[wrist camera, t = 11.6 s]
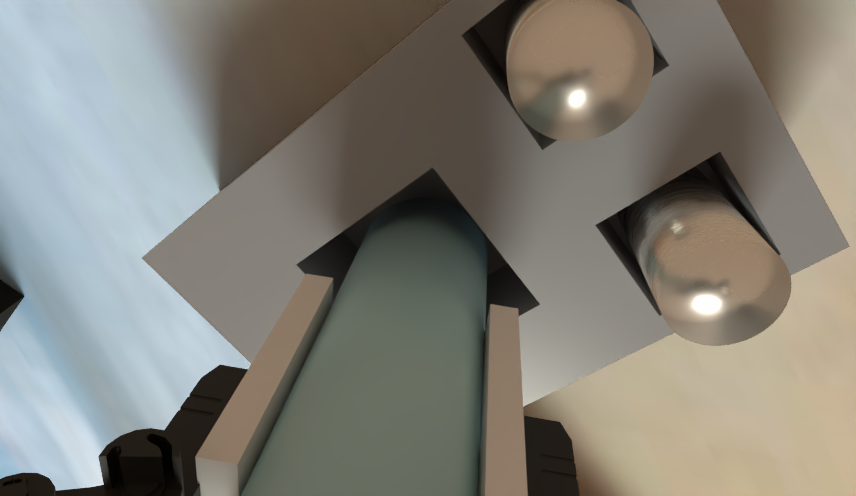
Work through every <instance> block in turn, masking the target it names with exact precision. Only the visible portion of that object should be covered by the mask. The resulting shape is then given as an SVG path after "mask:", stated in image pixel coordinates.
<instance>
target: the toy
mask: <svg viewBox="0 0 856 496" xmlns="http://www.w3.org/2000/svg"><path fill="white" fill-rule="evenodd" d="M23 297H24V296H23V295H21V294H20V293H19V292H17V291H16V290H14V289H13V288H11V287H10V286H9V285H7V284H6V283H4V282H3V281H1V280H0V331H1V329H2V328H3V326H4V325H5V323H6V322H7V321H8V319H9V318H10V316H11V315H12V313H13V312H14V310H15V309H16V308H17V306H18V305H19V303H20V302H21V300H22V299H23Z"/></svg>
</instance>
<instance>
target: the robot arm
mask: <svg viewBox="0 0 856 496" xmlns="http://www.w3.org/2000/svg"><path fill="white" fill-rule="evenodd" d="M332 293H333V278H330V277H324V276H318V275H312V274H306V275H305V277H304V278H303V280H302V282H301V283H300V285H299V287H298V288H297V290H296V292H295V293H294V295H293V296H292V298H291V300H290V301H289V303H288V305H287V306H286V308H285V310H284V311H283V313H282V315H281V316H280V318H279V320H278V321H277V323H276V324H275V326H274V328H273V329H272V331H271V333H270V334H269V336H268V338H267V339H266V341H265V343H264V344H263V346H262V348H261V349H260V351H259V353H258V354H257V356H256V357H255V359H254V361H253V362H252V364H251V366H250V367H249V369H248V370H247V369H242V368H236V367H230V366H224V365H219V366H218V367H216V368H215V369H213V370H212V371H210V372H209V373H208V374H206V375H205V376H203V377H202V378H201V379H200V381H199V382H198V383H197V385H196V386H195V388H194V389H193V391H192V392H191V393H190V397H188V398H187V399H186V400H185V402H184V403H183V405H182V406H181V409H180V411H178V412H177V413H176V415H175V416H174V417H173V419H172V420H171V422H170V423H169V425H168V426H167V427H166V429H165V430H158V429H152V428H150V429H141V430H135V431H132V432H130V433H127V434H124V435H122V436H120V437H118V438H117V439H115V440H114V441H112V442H111V443H110V444H108V445H107V446H106V447H105V449H104V450H103V451H102V453H101V454H100V455H99V461H100V466H101V472H102V477H103V482H104V485H101V486H96V487H90V488H80V489H70V490H60V491H56V490H55V486H54V485H53V483H52V482H51V480H50V479H49V478H48V477H45V476H43V475H41V474H38V473H20V474H15V475H11V476H7V477H4V478H2V479H0V496H241V494H242V492H243V490H244V488H245V486H246V484H247V482H248V480H249V478H250V475H251V473H252V471H253V469H254V467H255V465H256V463H257V461H258V459H259V457H260V455H261V452H262V450H263V448H264V446H265V444H266V442H267V440H268V438H269V436H270V434H271V432H272V429H273V427H274V425H275V423H276V421H277V419H278V417H279V415H280V413H281V411H282V409H283V406H284V404H285V402H286V400H287V398H288V396H289V394H290V392H291V390H292V388H293V386H294V384H295V381H296V379H297V377H298V375H299V373H300V371H301V369H302V367H303V365H304V363H305V361H306V358H307V356H308V354H309V352H310V350H311V348H312V346H313V344H314V342H315V340H316V338H317V335H318V333H319V331H320V329H321V327H322V325H323V323H324V321H325V319H326V317H327V315H328V312H329V310H330V308H331V306H332ZM576 476H577V475H576V468H575V463H574V455H573V448H572V441H571V439H570V437H569V436H568V434H567V433H566V431H565V429H564V428H563V426H562V425H561V423H560V422H557V421H551V420H545V419H539V418H533V417H528V416H524V413H523V393H522V373H521V354H520V334H519V314H518V308H512V307H506V306H499V305H493V304H490V309H489V314H488V318H487V323H486V328H485V335H484V359H483V383H482V407H481V431H480V455H479V479H478V496H580V495H579V489H578V482H577V479H576Z"/></svg>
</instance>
